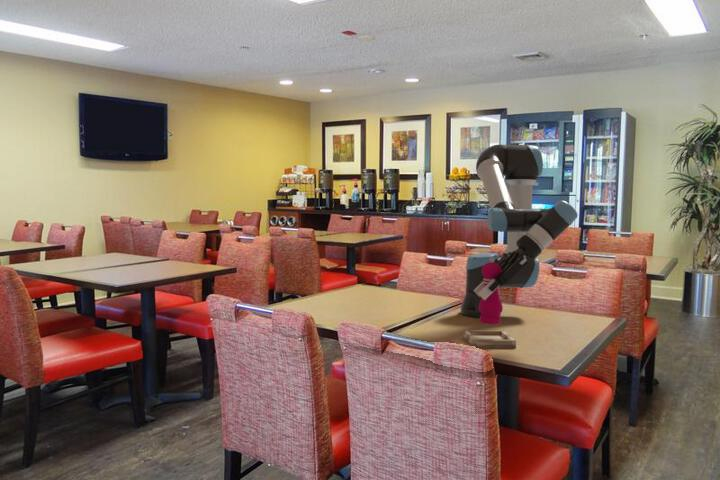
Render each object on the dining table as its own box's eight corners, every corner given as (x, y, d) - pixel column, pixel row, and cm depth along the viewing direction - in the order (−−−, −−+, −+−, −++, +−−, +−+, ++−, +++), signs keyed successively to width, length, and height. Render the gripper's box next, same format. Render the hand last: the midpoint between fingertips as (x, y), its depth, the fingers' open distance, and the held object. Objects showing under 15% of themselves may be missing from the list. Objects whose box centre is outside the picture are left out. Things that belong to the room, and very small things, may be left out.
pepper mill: (475, 319, 179) (477, 256, 177) (497, 319, 179) (499, 256, 178) (482, 324, 172) (484, 258, 170) (505, 324, 172) (507, 258, 171)
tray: (463, 336, 183) (463, 330, 183) (503, 337, 183) (503, 330, 183) (472, 347, 170) (473, 340, 170) (515, 347, 171) (516, 340, 170)
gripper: (553, 254, 166) (495, 309, 166) (531, 248, 184) (479, 298, 184) (535, 235, 165) (477, 291, 165) (516, 232, 183) (464, 282, 183)
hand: (479, 295), depth 175 cm, fingers closed on pepper mill, 5 cm apart
